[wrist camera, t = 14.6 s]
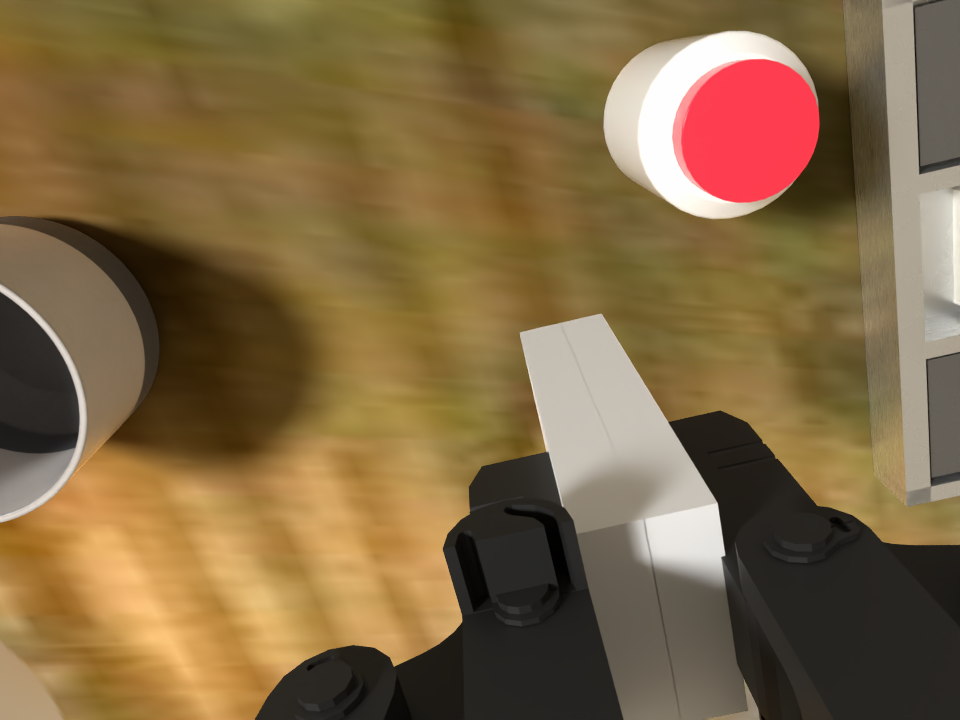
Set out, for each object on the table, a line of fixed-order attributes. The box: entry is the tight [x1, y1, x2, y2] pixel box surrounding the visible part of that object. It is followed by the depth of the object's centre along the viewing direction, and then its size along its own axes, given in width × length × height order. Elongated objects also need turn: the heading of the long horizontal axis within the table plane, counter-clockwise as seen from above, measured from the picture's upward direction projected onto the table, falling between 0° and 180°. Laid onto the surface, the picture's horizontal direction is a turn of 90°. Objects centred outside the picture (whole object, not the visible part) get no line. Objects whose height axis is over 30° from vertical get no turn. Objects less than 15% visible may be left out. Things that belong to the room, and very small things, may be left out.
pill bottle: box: [604, 31, 820, 219], centre depth 36 cm, size 8×8×11 cm
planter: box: [0, 216, 159, 523], centre depth 39 cm, size 13×13×10 cm
